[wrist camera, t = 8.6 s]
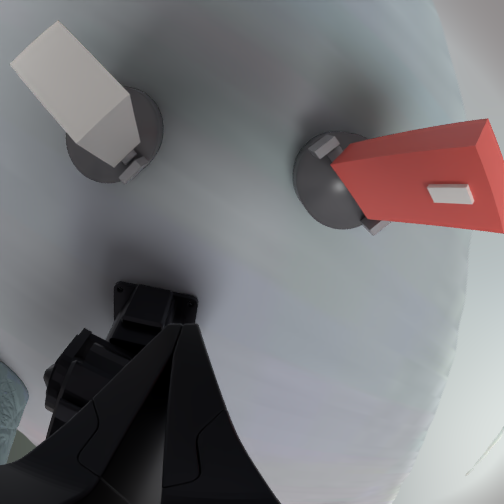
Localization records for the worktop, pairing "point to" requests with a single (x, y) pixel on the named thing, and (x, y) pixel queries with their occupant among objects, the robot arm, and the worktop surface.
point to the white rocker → (80, 94)
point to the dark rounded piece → (329, 185)
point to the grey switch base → (146, 150)
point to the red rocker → (428, 176)
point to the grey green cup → (10, 408)
